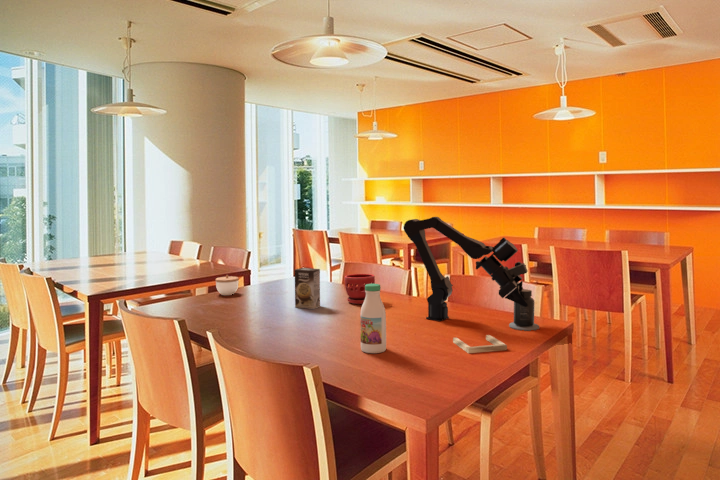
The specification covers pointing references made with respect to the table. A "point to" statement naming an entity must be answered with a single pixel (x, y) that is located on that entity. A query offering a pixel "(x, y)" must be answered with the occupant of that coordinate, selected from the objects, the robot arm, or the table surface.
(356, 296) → the plant pot
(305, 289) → the coffee box
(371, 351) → the milk bottle
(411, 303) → the table surface
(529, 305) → the supplement bottle
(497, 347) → the pocket
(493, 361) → the table surface
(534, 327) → the coaster
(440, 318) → the robot arm
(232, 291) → the lidded jar
